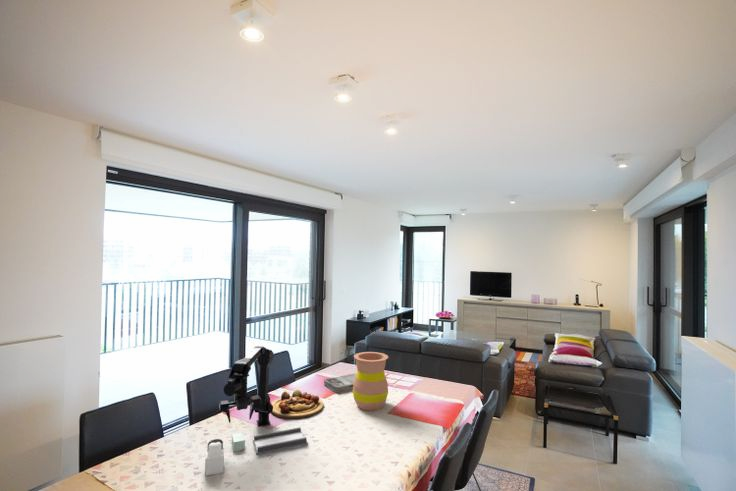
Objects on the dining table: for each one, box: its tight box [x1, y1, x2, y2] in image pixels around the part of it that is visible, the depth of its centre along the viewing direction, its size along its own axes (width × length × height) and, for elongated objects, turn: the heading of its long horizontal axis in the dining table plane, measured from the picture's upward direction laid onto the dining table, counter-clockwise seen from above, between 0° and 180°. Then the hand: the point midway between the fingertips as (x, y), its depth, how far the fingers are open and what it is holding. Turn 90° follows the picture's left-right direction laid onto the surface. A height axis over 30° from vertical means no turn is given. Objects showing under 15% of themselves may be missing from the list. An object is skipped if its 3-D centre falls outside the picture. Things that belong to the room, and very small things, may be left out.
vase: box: [352, 351, 389, 412], centre depth 226 cm, size 22×22×30 cm
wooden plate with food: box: [270, 389, 324, 420], centre depth 221 cm, size 32×32×8 cm
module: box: [231, 432, 246, 452], centre depth 176 cm, size 8×5×4 cm, turn 26°
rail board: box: [252, 427, 308, 456], centre depth 179 cm, size 13×24×3 cm, turn 115°
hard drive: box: [323, 373, 357, 394], centre depth 259 cm, size 18×27×4 cm
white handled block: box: [204, 438, 225, 476], centre depth 156 cm, size 7×7×12 cm
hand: (239, 421), depth 176 cm, fingers open, 9 cm apart
